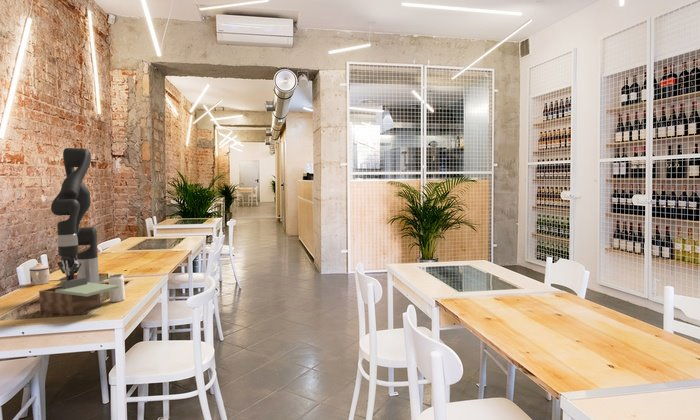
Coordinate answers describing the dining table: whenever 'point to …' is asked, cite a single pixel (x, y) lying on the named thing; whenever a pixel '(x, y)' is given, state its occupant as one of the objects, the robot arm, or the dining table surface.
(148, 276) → the dining table surface
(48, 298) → the chest
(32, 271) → the teacup with lid
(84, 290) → the lid
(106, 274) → the hardcover book
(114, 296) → the can
